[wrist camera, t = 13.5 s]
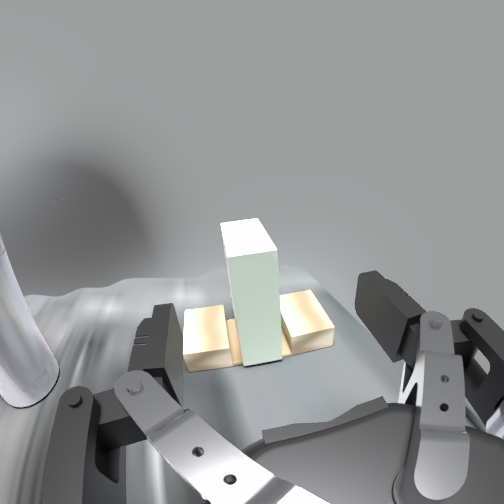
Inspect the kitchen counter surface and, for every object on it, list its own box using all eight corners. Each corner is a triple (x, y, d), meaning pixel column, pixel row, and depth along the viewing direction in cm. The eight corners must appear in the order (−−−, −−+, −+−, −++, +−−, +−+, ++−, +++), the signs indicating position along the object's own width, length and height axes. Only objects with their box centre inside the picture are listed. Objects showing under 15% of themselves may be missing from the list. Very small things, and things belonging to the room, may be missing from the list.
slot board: (189, 372, 24) (182, 354, 23) (189, 327, 31) (185, 310, 30) (332, 345, 26) (334, 327, 25) (309, 307, 32) (310, 289, 31)
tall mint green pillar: (243, 366, 24) (227, 257, 20) (234, 316, 32) (220, 223, 27) (282, 359, 25) (277, 249, 20) (265, 310, 32) (257, 218, 27)
